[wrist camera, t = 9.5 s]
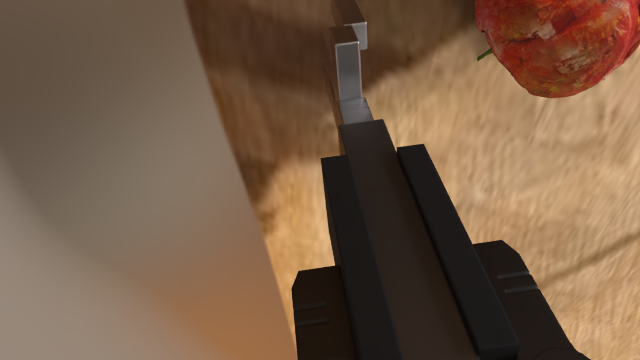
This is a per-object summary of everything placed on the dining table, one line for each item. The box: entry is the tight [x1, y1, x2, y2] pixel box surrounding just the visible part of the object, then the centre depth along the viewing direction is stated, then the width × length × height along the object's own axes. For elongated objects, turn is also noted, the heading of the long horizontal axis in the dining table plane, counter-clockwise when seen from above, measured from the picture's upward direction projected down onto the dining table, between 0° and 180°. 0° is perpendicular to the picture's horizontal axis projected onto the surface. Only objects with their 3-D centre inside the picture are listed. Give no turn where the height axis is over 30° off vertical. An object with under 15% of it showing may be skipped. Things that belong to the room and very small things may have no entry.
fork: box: [321, 0, 480, 360], centre depth 15 cm, size 6×2×20 cm, turn 5°
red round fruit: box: [475, 0, 640, 98], centre depth 24 cm, size 7×7×10 cm
